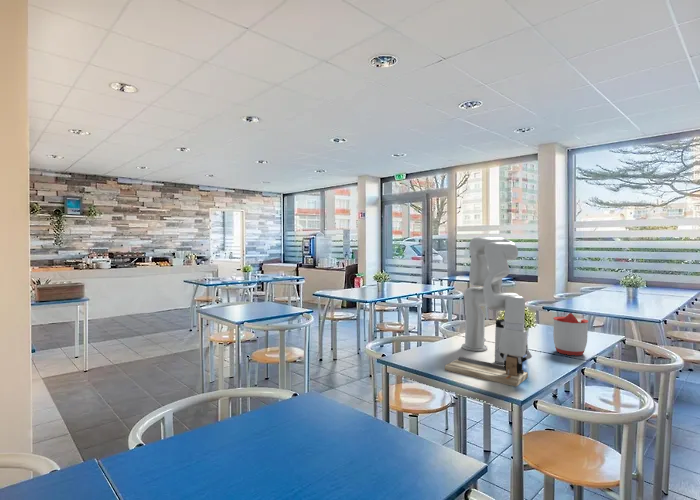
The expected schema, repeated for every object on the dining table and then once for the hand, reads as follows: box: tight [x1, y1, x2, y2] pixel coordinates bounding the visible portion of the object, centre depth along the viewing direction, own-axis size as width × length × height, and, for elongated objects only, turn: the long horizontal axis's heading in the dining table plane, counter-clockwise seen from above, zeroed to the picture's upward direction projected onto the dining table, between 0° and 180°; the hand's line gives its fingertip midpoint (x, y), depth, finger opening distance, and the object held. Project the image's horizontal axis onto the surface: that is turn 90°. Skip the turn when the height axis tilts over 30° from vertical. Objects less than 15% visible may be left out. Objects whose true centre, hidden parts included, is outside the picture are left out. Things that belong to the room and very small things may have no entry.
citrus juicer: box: [552, 313, 589, 356], centre depth 209 cm, size 16×17×20 cm
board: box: [444, 356, 529, 388], centre depth 175 cm, size 14×30×4 cm, turn 50°
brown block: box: [506, 355, 520, 376], centre depth 167 cm, size 8×4×7 cm, turn 140°
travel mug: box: [494, 319, 504, 366], centre depth 190 cm, size 6×7×20 cm
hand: (513, 370), depth 168 cm, fingers closed on brown block, 4 cm apart
